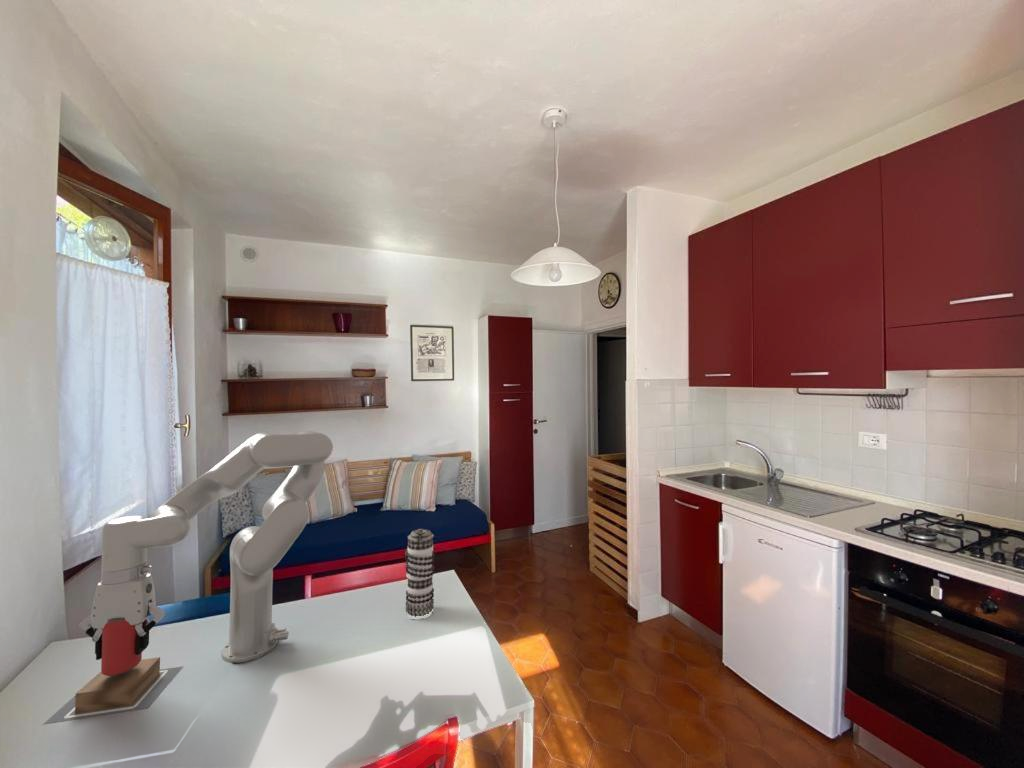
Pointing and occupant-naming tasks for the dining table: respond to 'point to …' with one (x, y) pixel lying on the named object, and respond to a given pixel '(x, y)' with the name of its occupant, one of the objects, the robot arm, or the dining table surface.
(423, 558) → the decorative candle
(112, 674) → the beer can
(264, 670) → the dining table surface
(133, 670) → the walnut base block
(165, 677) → the grey mat
